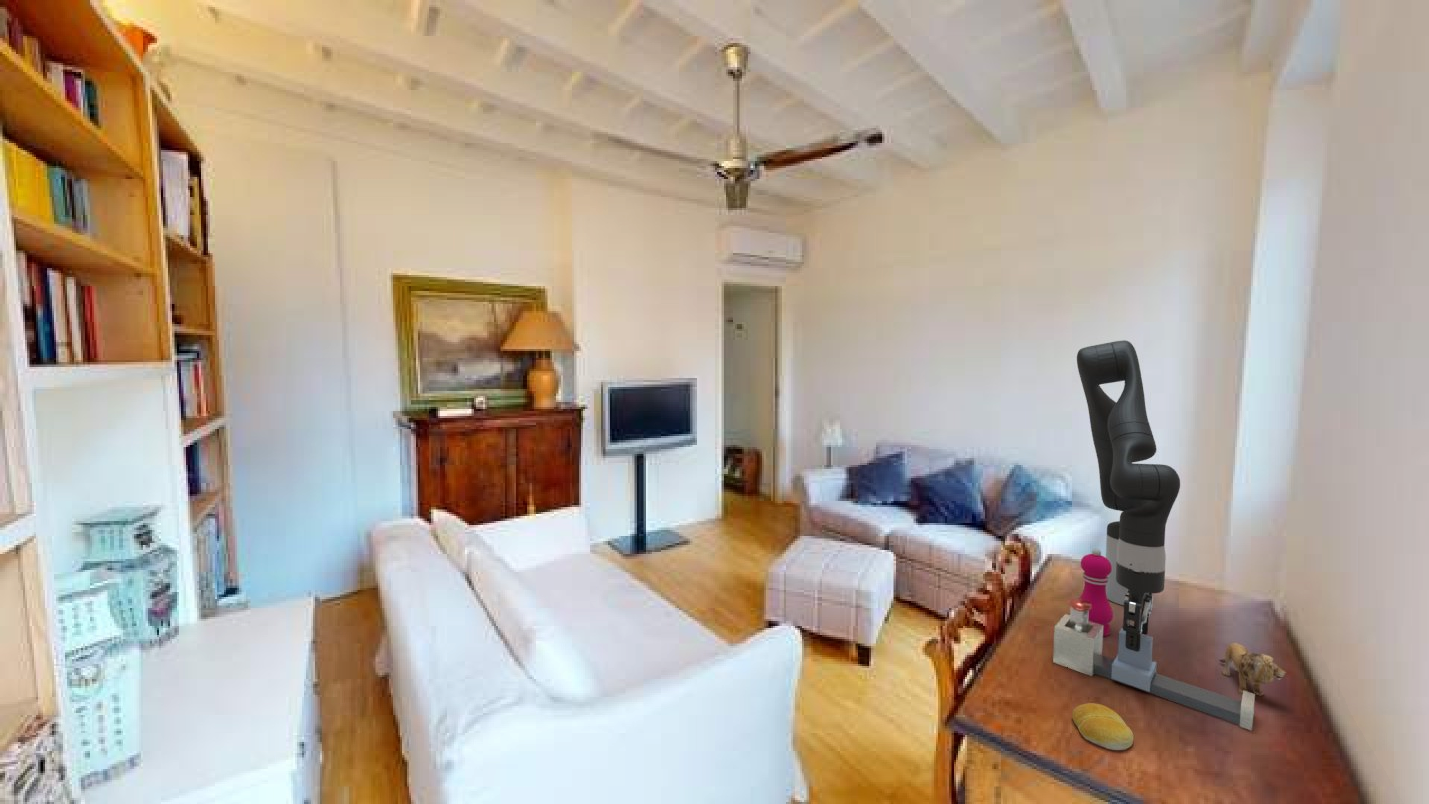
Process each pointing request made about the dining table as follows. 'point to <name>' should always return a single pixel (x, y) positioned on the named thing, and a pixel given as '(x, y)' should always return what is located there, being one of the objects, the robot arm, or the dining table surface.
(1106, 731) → the bread roll
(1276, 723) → the dining table surface
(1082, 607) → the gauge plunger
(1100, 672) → the rail station
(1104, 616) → the pepper mill
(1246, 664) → the lion figurine
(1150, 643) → the carriage
